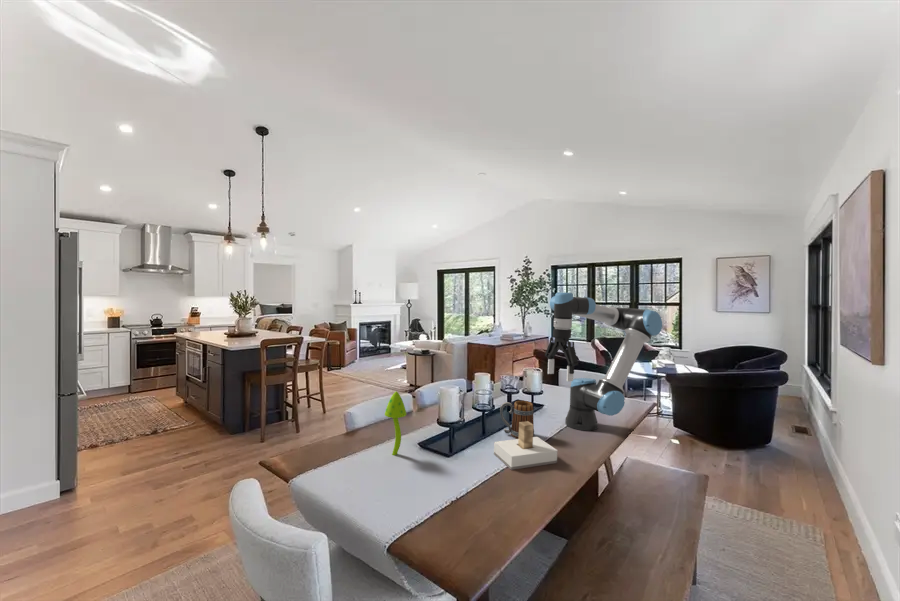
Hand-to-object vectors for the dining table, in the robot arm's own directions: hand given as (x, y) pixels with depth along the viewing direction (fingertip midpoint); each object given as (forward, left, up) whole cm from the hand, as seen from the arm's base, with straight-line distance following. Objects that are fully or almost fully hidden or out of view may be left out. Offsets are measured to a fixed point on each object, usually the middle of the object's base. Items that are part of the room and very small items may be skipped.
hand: (559, 377), depth 175 cm
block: (+22, +10, -29) cm, 38 cm away
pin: (+22, +10, -28) cm, 37 cm away
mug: (+13, -12, -29) cm, 34 cm away
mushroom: (+70, -8, -29) cm, 76 cm away
